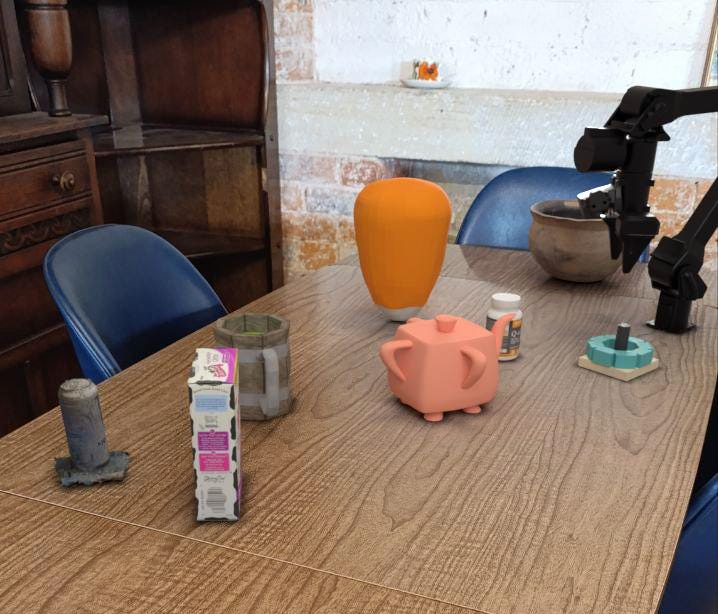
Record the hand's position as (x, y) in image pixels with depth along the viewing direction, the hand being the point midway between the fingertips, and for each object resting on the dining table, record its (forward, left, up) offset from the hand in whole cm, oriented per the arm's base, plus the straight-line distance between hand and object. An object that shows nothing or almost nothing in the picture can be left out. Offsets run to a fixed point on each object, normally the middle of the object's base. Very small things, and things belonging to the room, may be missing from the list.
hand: (619, 266), depth 150 cm
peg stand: (+13, +11, -12) cm, 21 cm away
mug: (+68, -12, -12) cm, 70 cm away
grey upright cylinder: (+94, -10, -12) cm, 95 cm away
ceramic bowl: (-26, -26, -12) cm, 39 cm away
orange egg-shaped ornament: (+24, -29, -12) cm, 39 cm away
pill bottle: (+24, -5, -12) cm, 27 cm away
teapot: (+46, +3, -12) cm, 48 cm away
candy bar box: (+86, +5, -12) cm, 87 cm away
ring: (+13, +10, -10) cm, 20 cm away
